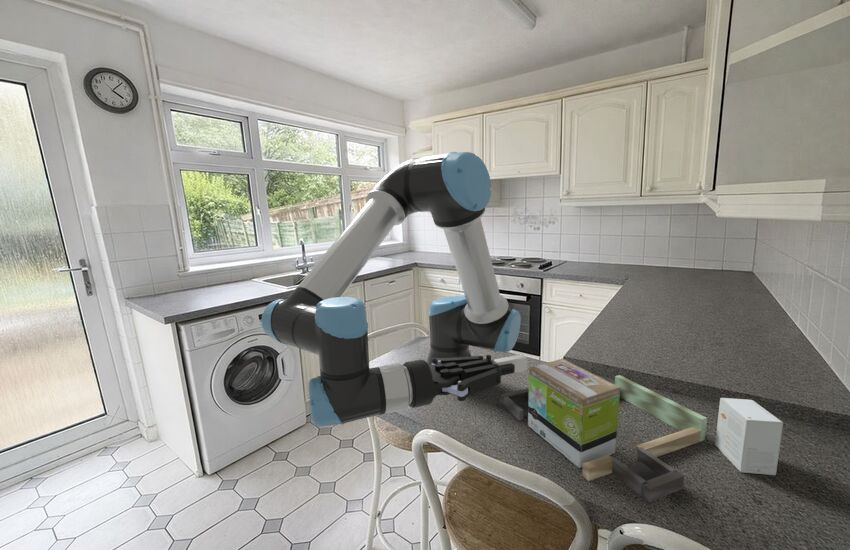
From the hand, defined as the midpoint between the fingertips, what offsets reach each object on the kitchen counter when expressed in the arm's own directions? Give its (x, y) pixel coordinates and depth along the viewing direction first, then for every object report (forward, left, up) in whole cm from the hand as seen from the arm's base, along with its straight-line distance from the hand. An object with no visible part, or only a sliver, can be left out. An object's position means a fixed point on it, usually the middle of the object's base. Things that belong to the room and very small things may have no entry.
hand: (524, 362), depth 67 cm
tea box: (0, +12, -20) cm, 23 cm away
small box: (+17, +38, -20) cm, 46 cm away
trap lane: (0, +22, -19) cm, 29 cm away
